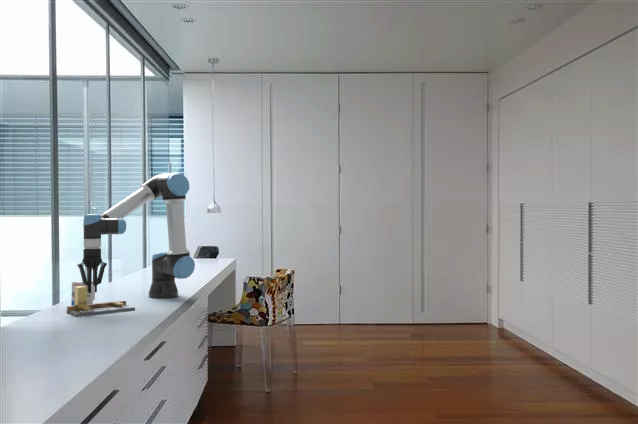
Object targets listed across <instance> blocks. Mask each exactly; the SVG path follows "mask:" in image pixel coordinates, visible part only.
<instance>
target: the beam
mask: <svg viewBox="0 0 638 424" xmlns="http://www.w3.org/2000/svg"><path fill="white" fill-rule="evenodd" d="M125 305H127V301H126V300H117V301H106V302H99V303H98V302H97V303H93V304H87V307H90V309H97V308H106V307H116V306H119V307H122V306H125ZM70 311H77V305H75V306H71V305H67V306H66V313H67V314H70Z"/></svg>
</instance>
